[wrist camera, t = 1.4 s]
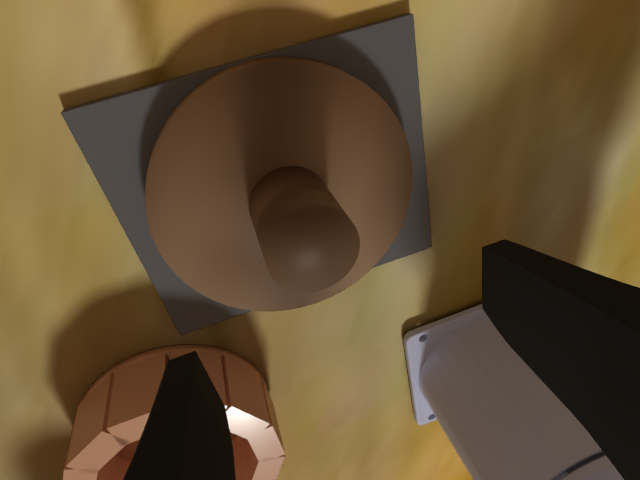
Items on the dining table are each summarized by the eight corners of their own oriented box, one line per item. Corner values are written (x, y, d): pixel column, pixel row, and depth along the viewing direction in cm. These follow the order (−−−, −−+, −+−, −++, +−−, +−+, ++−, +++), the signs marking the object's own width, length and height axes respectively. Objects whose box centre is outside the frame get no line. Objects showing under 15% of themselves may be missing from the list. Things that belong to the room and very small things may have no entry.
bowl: (238, 318, 20) (250, 375, 17) (286, 432, 25) (301, 491, 22) (37, 389, 19) (13, 463, 16) (128, 494, 24) (122, 564, 21)
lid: (386, 21, 15) (455, 37, 12) (411, 253, 21) (464, 314, 17) (93, 103, 14) (65, 150, 10) (203, 327, 20) (210, 410, 16)
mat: (408, 13, 16) (413, 14, 15) (427, 242, 21) (432, 246, 21) (63, 109, 14) (60, 112, 14) (180, 329, 20) (180, 335, 19)
